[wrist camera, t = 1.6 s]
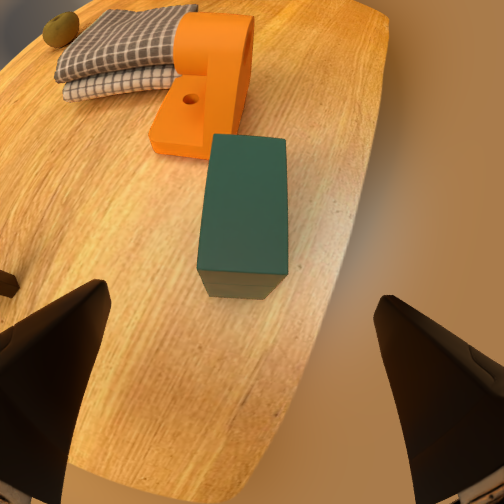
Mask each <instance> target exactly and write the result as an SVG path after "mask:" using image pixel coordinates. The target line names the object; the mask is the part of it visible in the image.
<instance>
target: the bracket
mask: <svg viewBox="0 0 504 504" xmlns="http://www.w3.org/2000/svg"><path fill="white" fill-rule="evenodd" d="M253 35H254V16H247V15H238V14H226V13H208V12H188V13H186V14H185V15H184V16H183V17H182V19H181V20H180V22H179V24H178V27H177V30H176V34H175V38H174V45H173V61H174V67H175V70H176V72H177V73H178V74H180V75H182V76H181V77H178V78H175V80H174V82H173V84H172V85H171V87H170V89H169V91H168V93H167V95H166V97H165V99H164V101H163V103H162V105H161V107H160V109H159V111H158V113H157V115H156V117H155V120H154V122H153V124H152V126H151V128H150V131H149V133H148V136H149V139H150V142H151V145H152V147H153V150H154V151H155V152H156V153H159V154H167V155H175V156H184V157H191V158H199V159H206V160H209V159H210V152H211V146H212V139H213V134H234V135H237V132H238V128H239V124H240V120H241V116H242V112H243V109H244V105H245V98H246V94H247V91H248V87H249V84H250V76H251V65H252V50H253Z"/></svg>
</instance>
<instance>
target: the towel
mask: <svg viewBox="0 0 504 504" xmlns="http://www.w3.org/2000/svg"><path fill="white" fill-rule="evenodd" d="M188 12H198V5H196V4H192V5H184V6H181V5H179V6H178V5H177V6H169V7H162V8H159V9H158V8H156V9H152V10H146V11H144V12H134V11H128V10H118V9H116V10H111V9H109V10H107V11H105V12H104V13H103V14H102V15H101V16H100V17H99V18H98V19H97V20H96V21H95V22H94V23H93V24H92V25H90V26H89V27H88V28H87V29H86V30H85V31H83V32H82V33H81V34H80V35H79V36H78V37H77V38H76V39H75V40H74V42H72V43H71V45H69V46H68V47H67V48H66V49H65V50H64V52H63V53H62V55H61V56H60V57H59V59H58V63H57V67H56V72H55V75H54V79H55V80H56V82H57V83H65V82H66V84H65V86H64V88H63V99H64V100H65V101H66V102H70V103H71V102H76V101H82V100H90V99H92V98H93V99H95V98H99V97H105V96H110V95H115V94H122V93H130V92H134V91H143V90H152V89H168V88H170V87H171V85H172V84H173V82H174V80H175V78H178V77H181V76H182V75H180V74H178V73H177V72H176V70H175V67H174V61H173V45H174V38H175V34H176V30H177V27H178V24H179V22H180V20H181V19H182V17H183V16H184V15H185V14H186V13H188Z"/></svg>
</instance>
